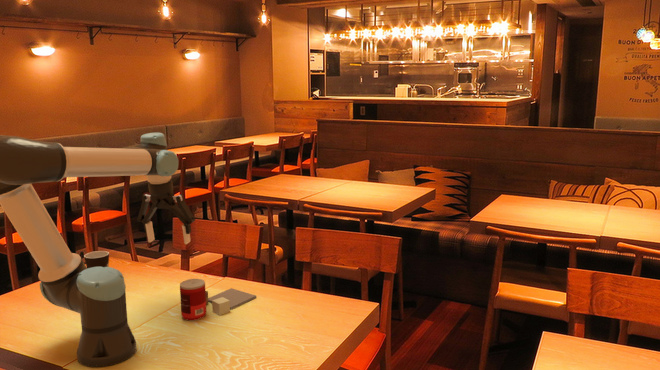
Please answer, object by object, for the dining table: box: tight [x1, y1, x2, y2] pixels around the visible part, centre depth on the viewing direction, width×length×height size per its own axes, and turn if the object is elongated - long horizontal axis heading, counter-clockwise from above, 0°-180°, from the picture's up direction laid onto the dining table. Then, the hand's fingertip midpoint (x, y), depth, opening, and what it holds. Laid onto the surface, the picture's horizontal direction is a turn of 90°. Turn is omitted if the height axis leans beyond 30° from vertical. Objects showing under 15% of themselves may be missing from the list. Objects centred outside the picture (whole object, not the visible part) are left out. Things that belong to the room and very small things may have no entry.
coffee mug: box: [83, 250, 110, 269], centre depth 209 cm, size 12×9×10 cm
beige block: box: [211, 297, 231, 316], centre depth 180 cm, size 4×4×4 cm
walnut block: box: [205, 290, 210, 306], centre depth 185 cm, size 4×4×4 cm
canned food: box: [179, 278, 207, 321], centre depth 176 cm, size 8×8×11 cm
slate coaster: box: [208, 287, 257, 310], centre depth 190 cm, size 12×12×1 cm
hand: (169, 241), depth 186 cm, fingers open, 13 cm apart
